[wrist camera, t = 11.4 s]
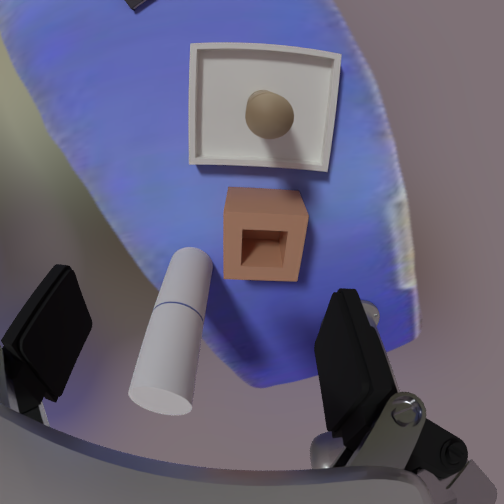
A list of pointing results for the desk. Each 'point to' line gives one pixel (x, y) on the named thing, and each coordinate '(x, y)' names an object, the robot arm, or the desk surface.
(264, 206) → the deep holder
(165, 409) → the cylindrical container
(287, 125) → the dowel pin
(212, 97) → the tray
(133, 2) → the notebook
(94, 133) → the desk surface
